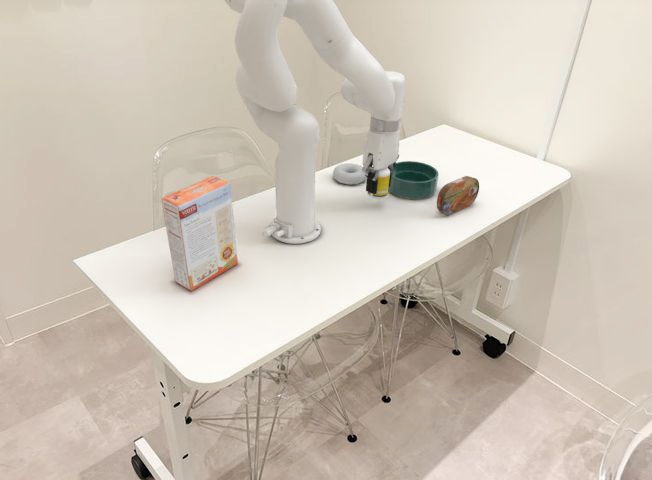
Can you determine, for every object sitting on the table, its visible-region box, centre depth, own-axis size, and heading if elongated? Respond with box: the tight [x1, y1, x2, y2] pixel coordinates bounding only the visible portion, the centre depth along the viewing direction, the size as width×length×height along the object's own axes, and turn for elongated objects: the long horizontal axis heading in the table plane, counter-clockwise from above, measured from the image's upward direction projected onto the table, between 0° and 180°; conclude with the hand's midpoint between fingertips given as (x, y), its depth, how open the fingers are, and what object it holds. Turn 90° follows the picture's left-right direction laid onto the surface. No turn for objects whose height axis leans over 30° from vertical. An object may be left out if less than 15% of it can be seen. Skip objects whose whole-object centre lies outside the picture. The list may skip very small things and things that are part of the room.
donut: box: [332, 162, 367, 185], centre depth 172 cm, size 10×4×10 cm
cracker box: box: [161, 175, 238, 292], centre depth 125 cm, size 14×6×21 cm, turn 141°
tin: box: [436, 175, 480, 216], centre depth 157 cm, size 15×3×8 cm, turn 129°
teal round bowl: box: [388, 160, 439, 200], centre depth 167 cm, size 14×14×6 cm
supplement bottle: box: [367, 166, 390, 200], centre depth 155 cm, size 5×5×10 cm
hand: (378, 188), depth 156 cm, fingers closed on supplement bottle, 5 cm apart
